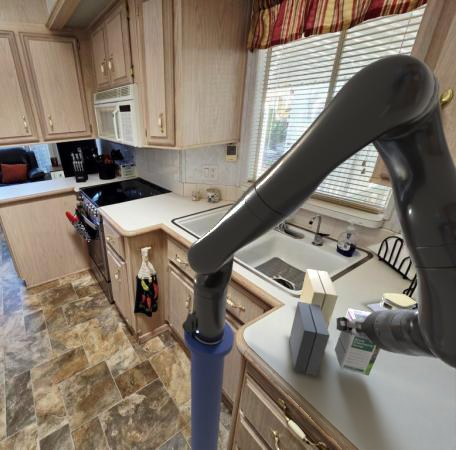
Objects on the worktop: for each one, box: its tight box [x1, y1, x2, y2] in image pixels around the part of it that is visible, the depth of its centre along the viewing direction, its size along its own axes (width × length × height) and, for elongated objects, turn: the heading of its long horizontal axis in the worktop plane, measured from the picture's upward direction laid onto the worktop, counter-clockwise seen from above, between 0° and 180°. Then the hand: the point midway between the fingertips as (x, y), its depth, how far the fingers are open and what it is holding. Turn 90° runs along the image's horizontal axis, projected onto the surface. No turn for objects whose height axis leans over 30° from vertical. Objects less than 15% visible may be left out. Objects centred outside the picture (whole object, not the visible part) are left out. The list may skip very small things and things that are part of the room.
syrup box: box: [334, 308, 381, 376], centre depth 59 cm, size 6×6×14 cm
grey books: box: [288, 301, 330, 377], centre depth 63 cm, size 5×10×14 cm, turn 160°
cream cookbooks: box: [298, 268, 339, 330], centre depth 73 cm, size 5×11×16 cm, turn 160°
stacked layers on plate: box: [366, 292, 418, 312], centre depth 77 cm, size 10×9×6 cm
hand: (358, 329), depth 60 cm, fingers closed on syrup box, 5 cm apart
